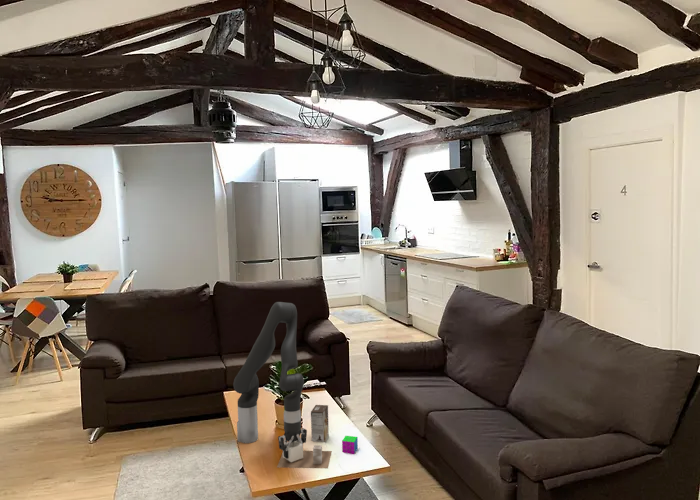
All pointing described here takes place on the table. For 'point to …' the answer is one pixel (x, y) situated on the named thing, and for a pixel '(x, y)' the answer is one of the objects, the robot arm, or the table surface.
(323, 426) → the coffee box
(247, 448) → the table surface
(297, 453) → the hollow square box
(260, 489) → the table surface
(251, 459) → the table surface
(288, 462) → the post board
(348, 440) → the puzzle toy
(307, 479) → the table surface
